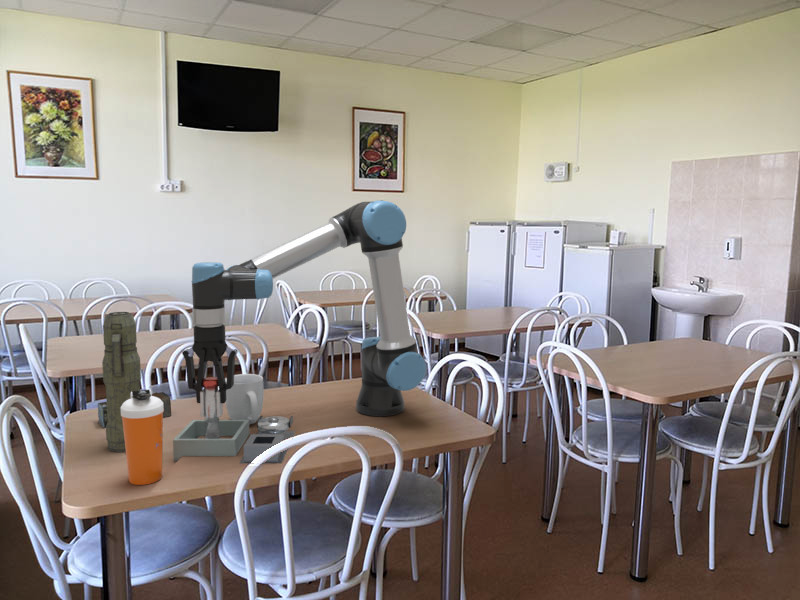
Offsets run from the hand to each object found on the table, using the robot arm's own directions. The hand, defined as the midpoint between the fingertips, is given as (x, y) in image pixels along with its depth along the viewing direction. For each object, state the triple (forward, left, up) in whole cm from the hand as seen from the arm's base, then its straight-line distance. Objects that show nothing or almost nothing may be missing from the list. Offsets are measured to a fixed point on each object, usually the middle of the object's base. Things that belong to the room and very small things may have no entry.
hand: (212, 415), depth 152 cm
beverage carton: (+30, -25, -10) cm, 40 cm away
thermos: (+23, -3, -9) cm, 25 cm away
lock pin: (0, 0, -6) cm, 6 cm away
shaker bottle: (+10, +17, -9) cm, 22 cm away
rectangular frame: (0, 0, -9) cm, 9 cm away
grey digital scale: (-15, +1, -9) cm, 17 cm away
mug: (-4, -21, -9) cm, 23 cm away
